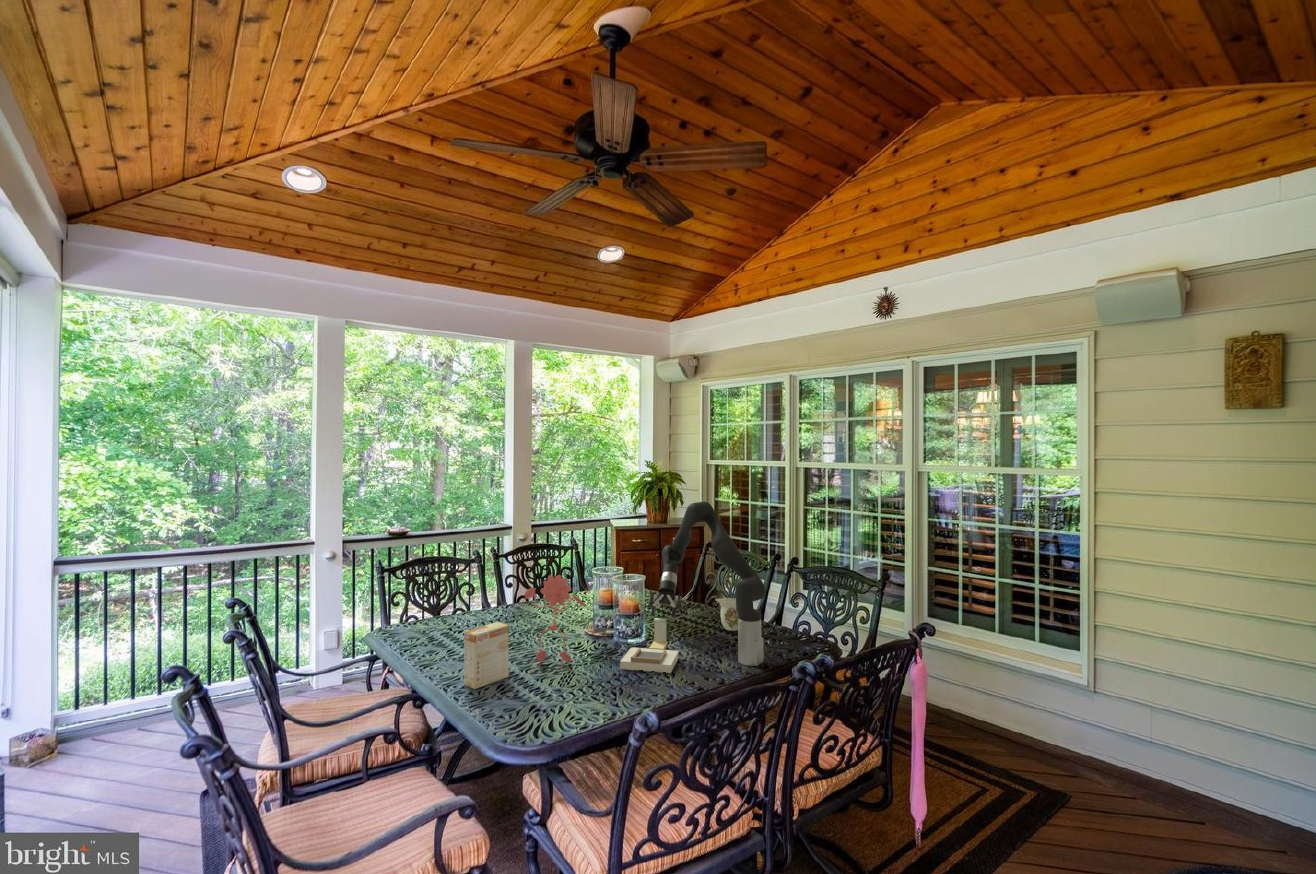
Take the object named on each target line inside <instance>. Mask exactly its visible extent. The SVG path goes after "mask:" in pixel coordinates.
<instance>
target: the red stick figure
mask: <svg viewBox="0 0 1316 874" xmlns="http://www.w3.org/2000/svg"><path fill="white" fill-rule="evenodd" d="M568 581H569V580H568V579H567V578H563V577H562V575H561V574H558V575H556V576H555V577H554V576H553V575H552V574H550V575H548V577H547V580H543V587H542V588H541V589H540V591H539V592H540V593H541V594H542V595H544V596H543V600H544V601H545V602H549V605H542V606H541V605H540V606H538V603H537V599H536V589H535V587H530V588H528V589H527V590H526V591H525V592H524V597H525V599H526V600H528V599H531V598H532V597H533V598H534V603H535V608H536V609H544V608H549V609H551V610H553V611H555V615H554V618H553V621H552V624H550V626H549V628H548V629H546V630H544V631H542V632H541V633H539V634H538V641H539V647H540V650H538V652H537V654H535V655H536V656H535V657H536V658H535V659H536V660H537V661H538V668H541V664H542V663H541V662H542V661H544V660H545V659H546V657H547V654H546V651H545V650H544V649H542V643H541V635H543V634H544V633H545V632H547V631H549V630H550V631H551V632H554V631H556V630H557V631H558V632H560V633H561V634H562V635H563V636H564V637H563V638H564V639H563V651H561V652H560V654H559V655H560V657H561V664H560V669H561V670H562V669H563V663H564V661H565V662H567V663H568V664H570V663H572V658H571V657H572V656H570V655H569V654H568V652H565V647H566V634H565V633H563V632H562V631H561V630H560V629H559V628H557V624H555V622H556V618H557V615H558V611H559V612H561V613H563V612H564V611H566V609H567V607H568V606H569V605H570V604H571V602H572V601H573V599H574V600H575V602H577V603H578V604H579V605H580V606H582V607H583V608H586V604H585V602H584V601H583V600H581V599H580V598H579V597H578V596H576V595H575V594H574V595H572V597H571V598H570V594H569V592H571V591H572V587H570V586H569V585H568ZM565 600H566V601H568V600H569V601H568V603H567V604H566V606H564V608H563V609H559V608H557V607H555V606H556V605H557V604H558V605H559V606H563V605H564V604H565ZM559 655H556V654H555V655H554V657H557V656H558V657H559ZM576 670H577V668H575V669H574V671H576Z"/></svg>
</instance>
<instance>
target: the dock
mask: <svg viewBox="0 0 1316 874" xmlns="http://www.w3.org/2000/svg"><path fill="white" fill-rule="evenodd" d="M679 654H680V651H679V650H674V649H665V650H663V649H649V648H647V647H636V646H635V647H634V646H631V647H630V648H629V650H628V651H627V652H626V653H625V655H624V656H623V657H622V659H621V660H620V663H619V664H620V666H619V667H620V668H619V669H620V670H629V671H639V670H643V671H642V672H651V671H655V672H654V673H663V672H666V674H672V672H673V670H674V668H675V667H676V664H677V662H678V661H679V659H680V655H679ZM678 658H679V659H678Z"/></svg>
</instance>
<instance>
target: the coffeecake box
mask: <svg viewBox="0 0 1316 874" xmlns="http://www.w3.org/2000/svg"><path fill="white" fill-rule="evenodd" d="M463 636H464V637H463V640H464V641H463V645H464V646H463V649H464V651H463V653H464V654H463V655H464V656H463V657H464V658H463V660H464V661H463V662H464V665H463V667H464V668H463V669H464V670H463V672H464V673H463V675H464V676H463V682H464V684H463V685H464V686H467V687H468V688H470V689H473V690H476V689H479V688H482V687H484V686H487V685H490V684H493V683H495V682H498V681H501V680H503V679H506V678H509V677H510V676H509V675H510V674H509V672H510V671H509V670H510V669H509V663H510V662H509V660H510V659H509V625H508V624H506V623H503V622H500V621H496V622H493V623H490V624H485V625H483V626H478V627H476V628H472V629H468V630H465V631H464V632H463Z"/></svg>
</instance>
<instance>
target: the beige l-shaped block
mask: <svg viewBox="0 0 1316 874" xmlns="http://www.w3.org/2000/svg"><path fill="white" fill-rule="evenodd" d="M653 624H654V625H653V627H654V628H653V631H654V632H653V636H654V638H653V641H652V643H651V644H650V646H649V649H663V650H669V649H668V648H669V644H668V641H667V618H657V617H656V618H655V617H654V620H653Z"/></svg>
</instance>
